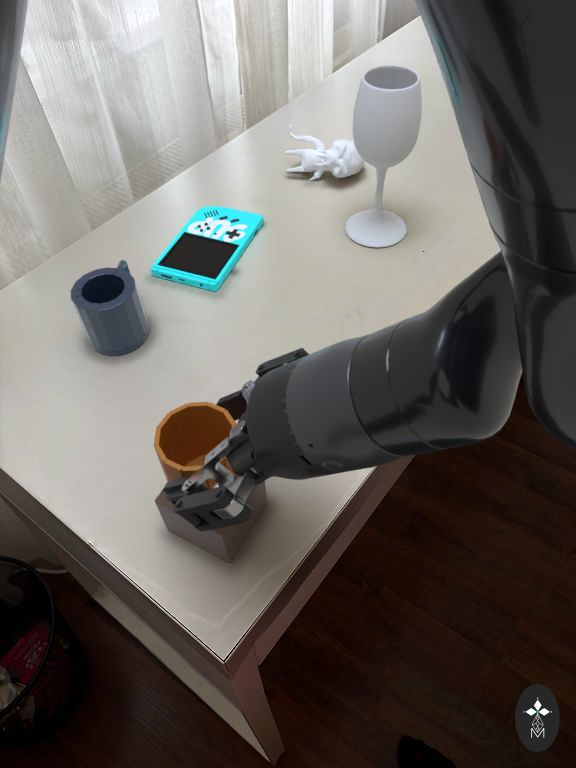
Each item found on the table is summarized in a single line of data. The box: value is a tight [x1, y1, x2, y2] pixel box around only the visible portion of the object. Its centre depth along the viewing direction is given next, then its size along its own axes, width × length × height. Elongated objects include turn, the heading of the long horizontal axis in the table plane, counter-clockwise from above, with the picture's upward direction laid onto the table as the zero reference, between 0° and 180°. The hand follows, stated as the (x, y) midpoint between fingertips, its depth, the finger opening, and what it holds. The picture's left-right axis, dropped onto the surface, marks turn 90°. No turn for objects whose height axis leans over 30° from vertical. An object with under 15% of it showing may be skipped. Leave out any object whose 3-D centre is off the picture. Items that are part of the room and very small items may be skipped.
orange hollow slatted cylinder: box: [153, 401, 237, 489], centre depth 49 cm, size 6×6×8 cm
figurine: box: [284, 123, 366, 181], centre depth 91 cm, size 8×9×12 cm
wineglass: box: [344, 64, 423, 248], centre depth 76 cm, size 9×9×21 cm
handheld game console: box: [150, 205, 264, 292], centre depth 82 cm, size 10×16×1 cm, turn 158°
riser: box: [154, 480, 268, 564], centre depth 55 cm, size 7×7×6 cm
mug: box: [70, 259, 150, 357], centre depth 71 cm, size 10×7×8 cm
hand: (200, 450), depth 48 cm, fingers open, 8 cm apart
